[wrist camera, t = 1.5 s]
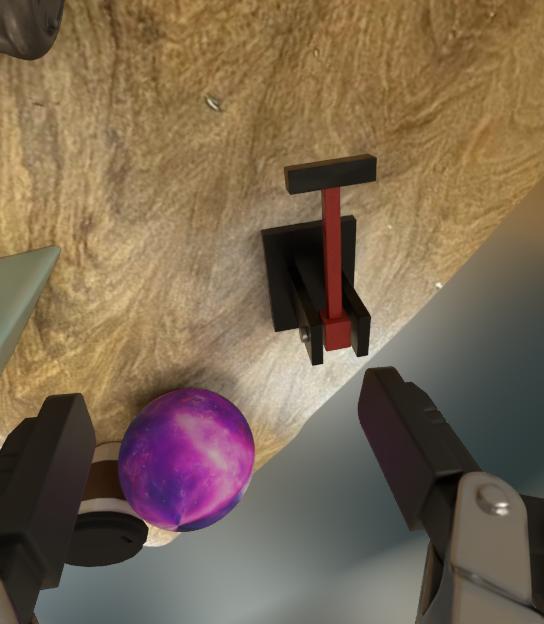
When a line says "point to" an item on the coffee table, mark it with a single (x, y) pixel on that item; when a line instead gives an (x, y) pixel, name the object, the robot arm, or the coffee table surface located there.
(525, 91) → the coffee table surface
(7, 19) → the alarm clock
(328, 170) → the red lever
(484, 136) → the coffee table surface
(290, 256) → the lever stand
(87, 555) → the coffee cup
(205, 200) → the coffee table surface
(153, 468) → the decorative orb
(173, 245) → the coffee table surface
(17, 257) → the planter
